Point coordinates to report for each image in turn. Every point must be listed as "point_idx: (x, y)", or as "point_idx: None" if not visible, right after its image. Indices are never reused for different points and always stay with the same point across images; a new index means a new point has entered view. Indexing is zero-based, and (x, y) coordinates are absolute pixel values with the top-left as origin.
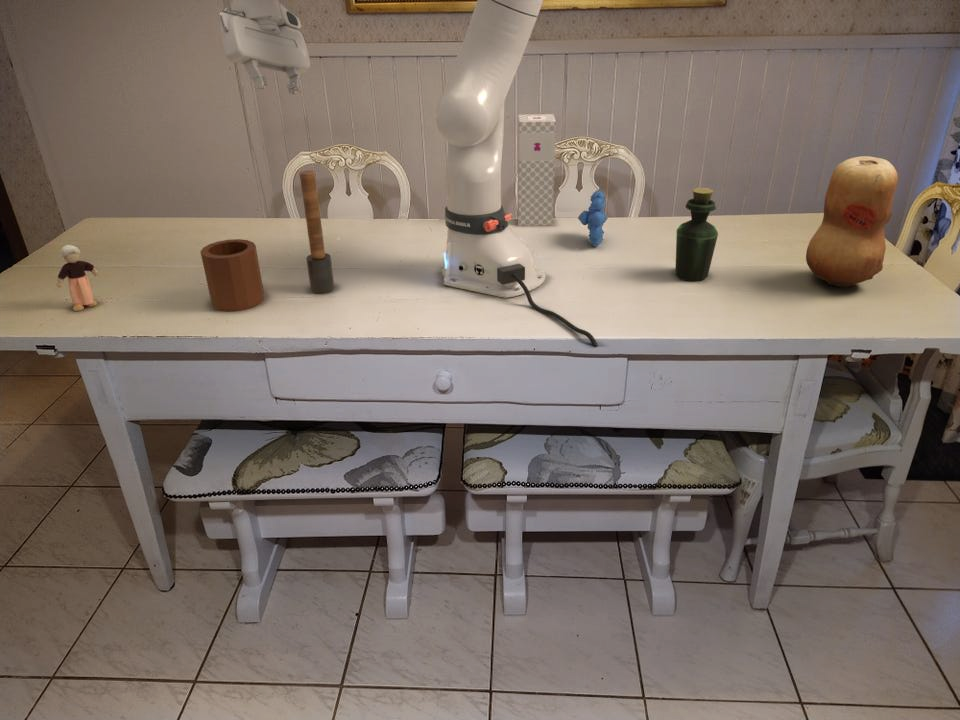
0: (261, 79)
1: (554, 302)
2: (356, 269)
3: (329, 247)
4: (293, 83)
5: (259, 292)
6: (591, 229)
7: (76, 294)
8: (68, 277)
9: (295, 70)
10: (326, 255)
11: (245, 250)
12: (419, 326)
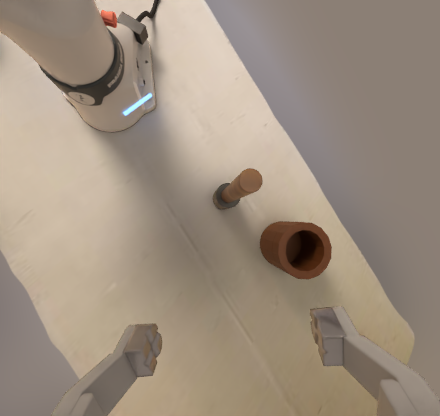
0: (348, 322)
1: (132, 4)
2: (170, 205)
3: (139, 274)
4: (144, 348)
5: (276, 223)
6: None
7: None
8: None
9: (78, 413)
10: (220, 191)
11: (299, 229)
12: (232, 80)
